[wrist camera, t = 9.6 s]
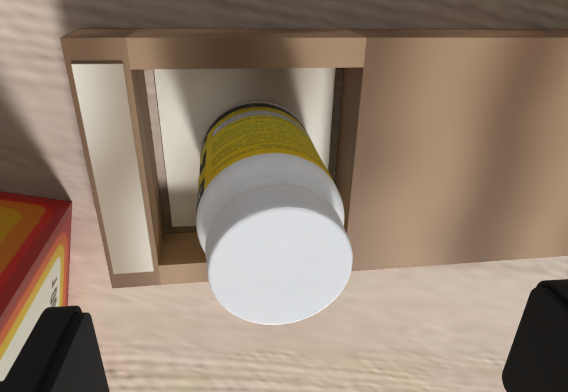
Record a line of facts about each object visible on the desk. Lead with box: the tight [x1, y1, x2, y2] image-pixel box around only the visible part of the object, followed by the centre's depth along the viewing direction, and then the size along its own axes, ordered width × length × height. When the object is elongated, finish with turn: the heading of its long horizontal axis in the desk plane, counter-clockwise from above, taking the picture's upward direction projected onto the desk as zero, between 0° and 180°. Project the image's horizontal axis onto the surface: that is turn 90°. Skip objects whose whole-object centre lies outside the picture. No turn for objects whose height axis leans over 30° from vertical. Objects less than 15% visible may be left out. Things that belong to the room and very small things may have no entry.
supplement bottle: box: [196, 101, 353, 325], centre depth 15 cm, size 5×5×8 cm
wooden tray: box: [60, 28, 568, 288], centre depth 19 cm, size 24×10×3 cm, turn 89°
